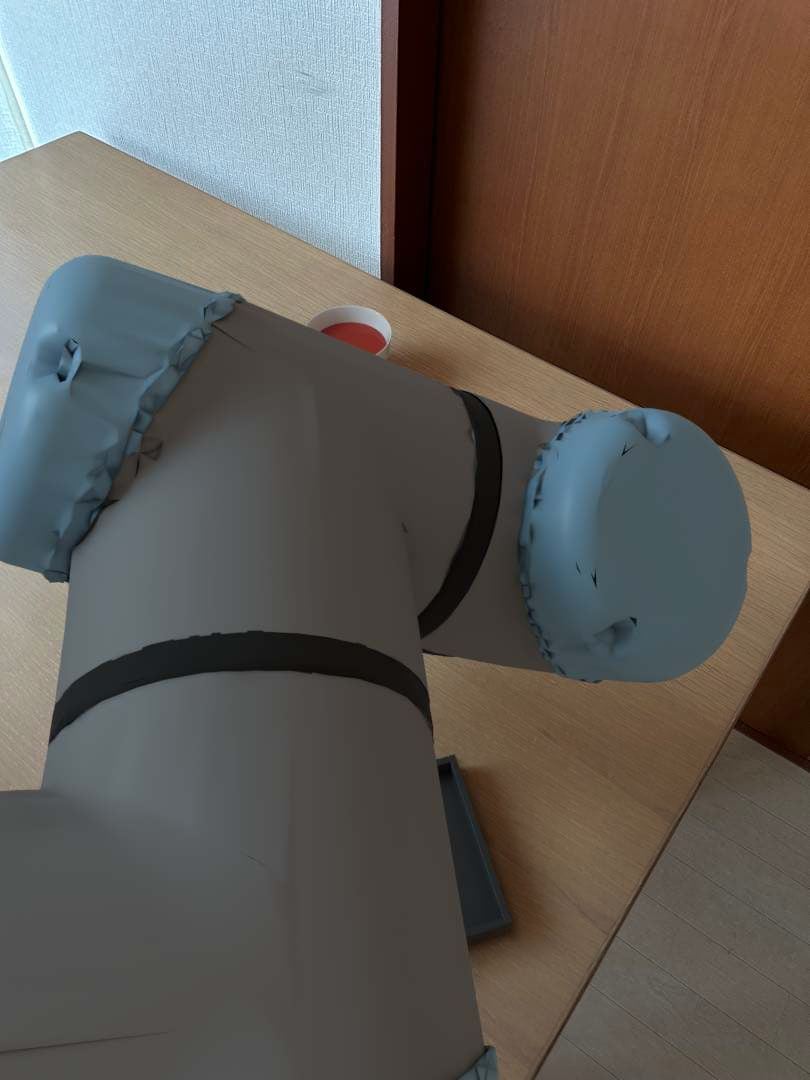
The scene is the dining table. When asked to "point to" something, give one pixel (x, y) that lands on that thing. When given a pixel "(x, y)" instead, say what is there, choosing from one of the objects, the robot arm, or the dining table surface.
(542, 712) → the dining table surface
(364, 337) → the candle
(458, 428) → the robot arm
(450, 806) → the black tray
